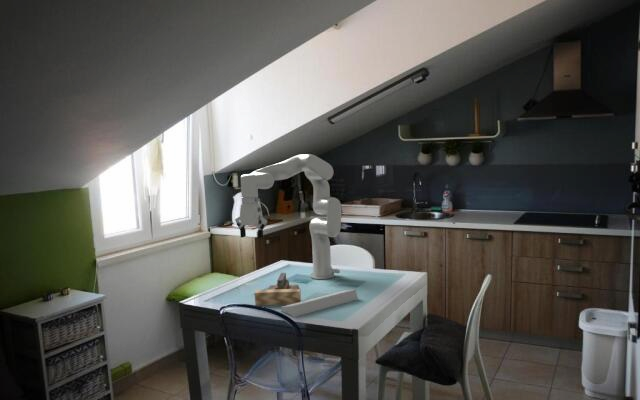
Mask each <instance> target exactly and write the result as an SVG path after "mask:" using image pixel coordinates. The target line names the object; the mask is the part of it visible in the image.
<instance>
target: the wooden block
mask: <svg viewBox="0 0 640 400" xmlns="http://www.w3.org/2000/svg"><path fill="white" fill-rule="evenodd" d="M298 302H302V296H301V288H298V289H272V290H268V289H256V290H255V292H254V303H255V306H278V305H279V306H280V305H282V306H283V305H284V306H286V305H290V304H294V303H298Z"/></svg>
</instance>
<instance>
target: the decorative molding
mask: <svg viewBox="0 0 640 400" xmlns="http://www.w3.org/2000/svg"><path fill="white" fill-rule="evenodd" d="M357 293H358V292H357V290H356V288H355V289H349V290H348V289H347V290H341V291H336V292H333V293H330V294H325V295H321V296H318V297H313V298H310V299H306V300H301V302H298V303H294V304H288V305H284V306H283V305H282V306H280V311H281V312H282V311H283V313H284V312H285V314H287V315H288V314H289V315H290V316H291V317H293V316H294V317H293V318H296V317H300V316H303V315H306V314H305V313H307V314H310V313H313V311H314V312H317V310H318V311H320V310H324V309H328V308H331V307H335V306H339V305H342V304H346V303H349V302H354V301H357V300H359V299H358V294H357ZM353 300H354V301H353ZM309 312H310V313H309ZM302 314H303V315H302ZM299 315H300V316H299ZM295 316H296V317H295Z"/></svg>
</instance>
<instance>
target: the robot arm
mask: <svg viewBox="0 0 640 400" xmlns="http://www.w3.org/2000/svg"><path fill="white" fill-rule="evenodd" d="M333 168H334V167H333V166H332V165H331V164H330V163H328V162H327V161H326V160H323V159H322V158H320V157H319V156H317V155H314V154H311V153H307V154H306V153H305V154H304V153H303V154H297V155H294V156H291V157H289V158H288V159H285V160H283V161H280V162H278V163H275V164H271V165H268V166H265V167H262V168H259V169H256V170H254V171H252V172H251V173H245V174H242V175H241V176H240V189H241V190H240V194H241V204H240V208H239V209H240V210H239V216H238V217H236V218H235V219H234V222H235V223H236V226H237V227H238V229H239V232H240V233H239V234H240V238H245V237H246V236H247V235H246V234H247V233H246V226H249V227H250V226H252V227H253V226H254V227H256V228H257V238H258V239H263V238H264V229H265V227H267V223H268V220H267V219H266V218H265V217H264V216H263V210H262V206H261V203H259V202H261V199H260V198H259V192H258V191H259V190H258V189H261V190H268V189H270V188H272V187H273V185H274V183H275V181H282V180H283V181H284V180H287V179H289V178H292V177H293V176H295V175H298V174H300V173H301V172H302V173H303V172H304V175H305V177H306V179H308V180H309V182H311V185H312V187H313V197H312V199H313V200H312V201H313V202H312V209H313V212H314V213H315V214H317V215H320V216H321V215H322V216H326V217H322V216H321V217H320V216H317V217H314V218H312V219H311V220H310V222H309V233H310V236H311V247H312V248H311V250H312V269H313V271H312V273H311V274H310V278H312V279H315V280H327V279H333V278H334V277H335V274H340V273H341V271H340V270H341V269H338V268H333V267H332V256H331V242H330V238H335V237H337V236H338V235H339V234H340V232H341V227H342V204H341V201H340V200H339V199H338V198H336V197H334V196H333V197H332V196H331V193H330V191H331V190H330V184H329V180H331V179H332V178H333V176H334V169H333Z"/></svg>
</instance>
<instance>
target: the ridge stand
mask: <svg viewBox="0 0 640 400" xmlns="http://www.w3.org/2000/svg"><path fill="white" fill-rule="evenodd" d="M299 287H300V286H299V284H290V280H289V279H287V273H286V272H280V274H279V277H278V278H277V282H276V284H275V285H273V284H271V285H269V287H268V289H267V290H272V289H300V288H299Z"/></svg>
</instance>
